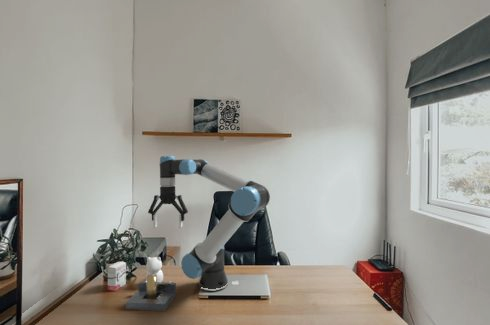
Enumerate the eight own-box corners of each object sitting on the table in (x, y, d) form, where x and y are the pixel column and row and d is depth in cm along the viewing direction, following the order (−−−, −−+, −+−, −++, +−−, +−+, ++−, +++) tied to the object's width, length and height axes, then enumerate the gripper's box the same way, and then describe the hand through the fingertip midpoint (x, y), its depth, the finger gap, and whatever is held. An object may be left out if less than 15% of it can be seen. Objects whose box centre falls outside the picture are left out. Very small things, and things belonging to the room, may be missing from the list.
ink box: (115, 291, 136) (115, 267, 136) (107, 290, 137) (106, 267, 137) (126, 283, 144) (126, 261, 144) (118, 283, 145) (118, 261, 145)
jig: (176, 295, 131) (175, 281, 131) (164, 310, 117) (164, 295, 117) (140, 293, 133) (140, 280, 133) (125, 309, 119) (125, 293, 119)
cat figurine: (143, 289, 138) (142, 260, 138) (149, 278, 151) (149, 251, 150) (161, 288, 139) (160, 259, 139) (166, 277, 151) (165, 251, 151)
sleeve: (158, 299, 127) (158, 274, 127) (154, 304, 123) (154, 278, 123) (149, 299, 128) (149, 273, 128) (144, 304, 123) (144, 278, 123)
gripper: (193, 185, 140) (193, 225, 140) (147, 185, 143) (148, 225, 143) (189, 186, 133) (189, 229, 133) (140, 186, 135) (141, 228, 135)
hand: (168, 227), depth 138 cm, fingers open, 13 cm apart
